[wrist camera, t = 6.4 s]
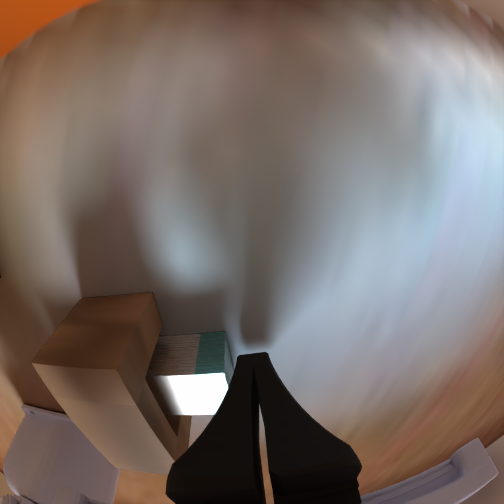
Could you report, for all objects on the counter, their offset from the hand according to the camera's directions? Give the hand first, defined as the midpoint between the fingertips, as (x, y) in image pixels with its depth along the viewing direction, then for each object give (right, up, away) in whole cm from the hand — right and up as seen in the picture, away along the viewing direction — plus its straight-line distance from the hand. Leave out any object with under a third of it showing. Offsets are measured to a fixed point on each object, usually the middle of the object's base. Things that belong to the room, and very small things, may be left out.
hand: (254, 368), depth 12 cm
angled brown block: (-6, 0, +1) cm, 6 cm away
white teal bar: (-6, 0, +1) cm, 6 cm away
